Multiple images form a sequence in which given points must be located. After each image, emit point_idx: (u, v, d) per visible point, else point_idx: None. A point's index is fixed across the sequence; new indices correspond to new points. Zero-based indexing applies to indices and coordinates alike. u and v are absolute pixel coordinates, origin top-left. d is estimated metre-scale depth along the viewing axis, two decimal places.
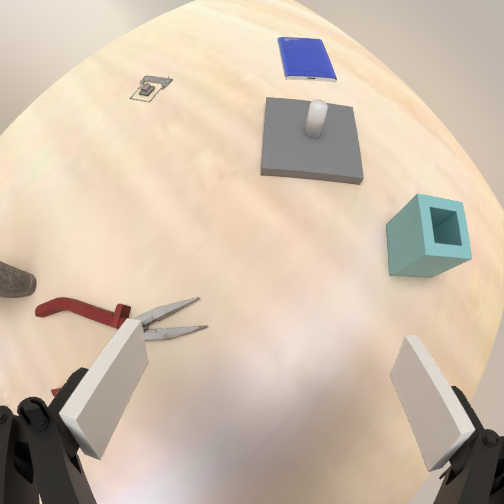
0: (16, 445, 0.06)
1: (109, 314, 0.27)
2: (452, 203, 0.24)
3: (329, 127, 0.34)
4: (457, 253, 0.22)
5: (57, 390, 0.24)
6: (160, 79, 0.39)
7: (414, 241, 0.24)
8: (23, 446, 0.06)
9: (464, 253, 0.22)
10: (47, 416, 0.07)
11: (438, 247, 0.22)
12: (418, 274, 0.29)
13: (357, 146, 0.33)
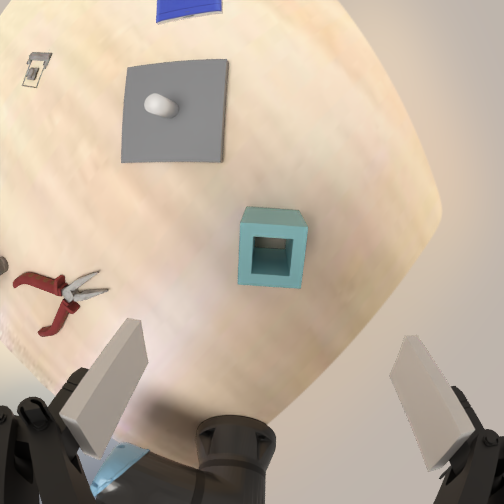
0: (17, 445, 0.06)
1: (52, 286, 0.37)
2: (290, 230, 0.26)
3: (190, 97, 0.28)
4: (280, 283, 0.27)
5: (40, 333, 0.40)
6: (41, 57, 0.26)
7: None
8: (23, 447, 0.06)
9: (291, 283, 0.27)
10: (47, 416, 0.07)
11: (255, 278, 0.27)
12: None
13: (220, 119, 0.29)
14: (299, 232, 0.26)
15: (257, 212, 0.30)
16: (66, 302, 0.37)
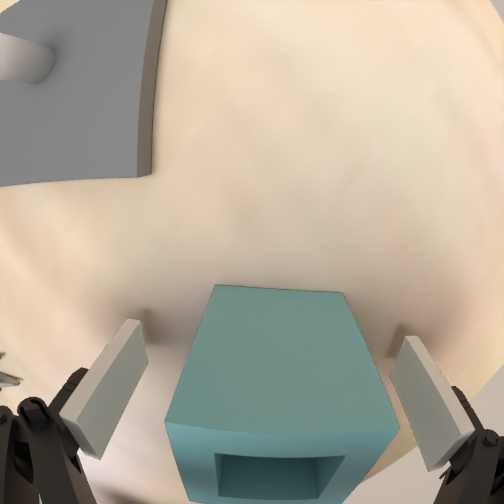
0: (17, 446, 0.06)
1: None
2: (341, 441, 0.06)
3: (80, 30, 0.08)
4: None
5: None
6: None
7: None
8: (22, 446, 0.06)
9: None
10: (47, 416, 0.07)
11: (229, 501, 0.08)
12: None
13: (138, 64, 0.09)
14: (369, 441, 0.06)
15: (237, 322, 0.11)
16: None
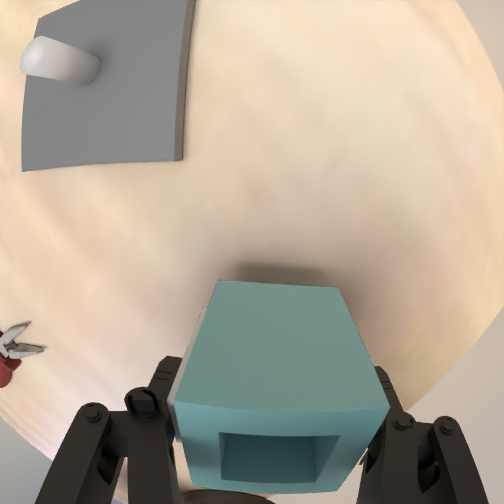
0: (112, 443, 0.07)
1: None
2: (336, 419, 0.07)
3: (122, 43, 0.12)
4: (292, 490, 0.09)
5: None
6: None
7: None
8: (120, 443, 0.07)
9: (318, 488, 0.08)
10: (156, 408, 0.08)
11: (232, 484, 0.08)
12: None
13: (174, 75, 0.13)
14: (362, 421, 0.07)
15: (239, 313, 0.11)
16: (2, 357, 0.22)
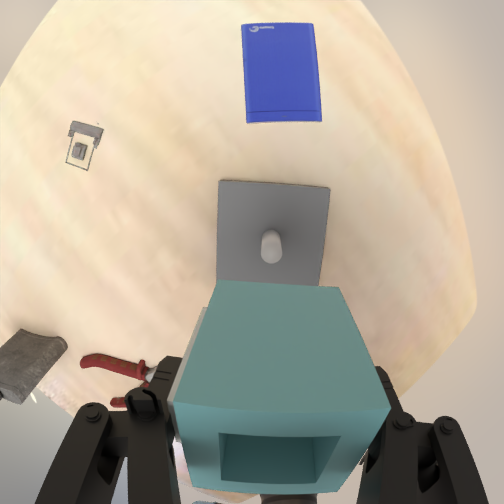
0: (112, 443, 0.07)
1: (133, 371, 0.40)
2: (336, 420, 0.07)
3: (292, 228, 0.32)
4: (292, 491, 0.08)
5: (115, 405, 0.43)
6: (89, 132, 0.30)
7: None
8: (119, 442, 0.07)
9: (318, 489, 0.08)
10: (156, 408, 0.08)
11: (232, 485, 0.08)
12: None
13: (320, 252, 0.33)
14: (362, 421, 0.07)
15: (239, 313, 0.11)
16: None
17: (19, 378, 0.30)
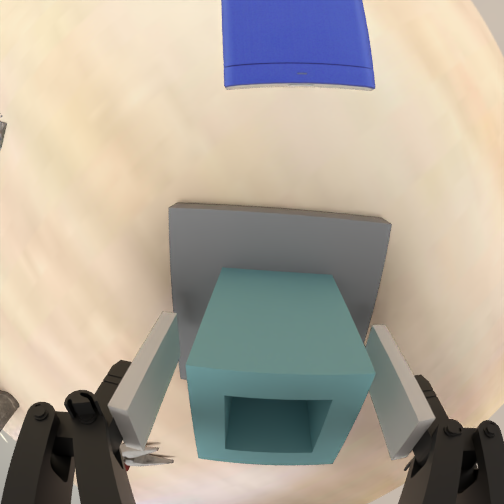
0: (58, 442, 0.07)
1: None
2: (327, 383, 0.08)
3: None
4: (290, 461, 0.10)
5: None
6: None
7: None
8: (65, 443, 0.07)
9: (314, 459, 0.10)
10: (95, 410, 0.08)
11: (234, 454, 0.10)
12: None
13: (362, 336, 0.17)
14: (351, 386, 0.08)
15: (242, 295, 0.13)
16: None
17: None
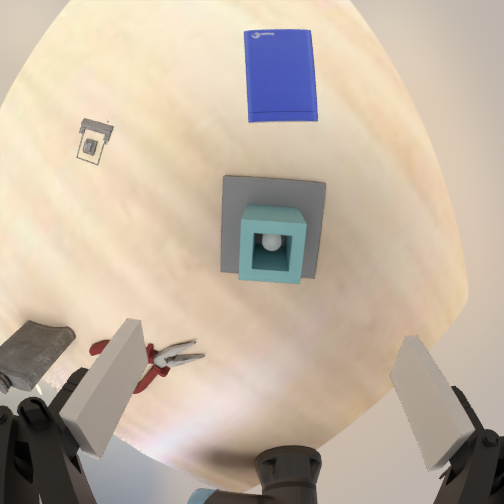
0: (17, 446, 0.06)
1: None
2: (289, 226, 0.27)
3: None
4: (279, 278, 0.28)
5: None
6: (99, 129, 0.33)
7: None
8: (22, 447, 0.06)
9: (290, 278, 0.28)
10: (47, 416, 0.07)
11: (255, 273, 0.28)
12: None
13: (317, 242, 0.35)
14: (298, 229, 0.27)
15: (257, 209, 0.31)
16: (159, 368, 0.43)
17: (28, 366, 0.32)
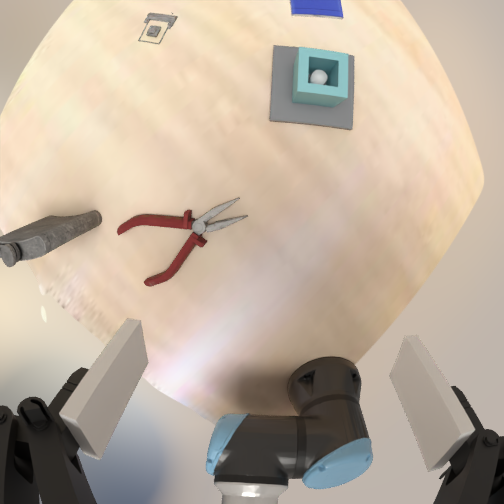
0: (17, 445, 0.06)
1: (179, 220, 0.43)
2: (335, 54, 0.27)
3: None
4: (331, 92, 0.29)
5: (149, 281, 0.47)
6: (165, 18, 0.33)
7: (296, 80, 0.31)
8: (23, 446, 0.06)
9: (340, 92, 0.29)
10: (47, 416, 0.07)
11: (311, 86, 0.29)
12: (317, 104, 0.36)
13: (352, 98, 0.36)
14: (342, 56, 0.27)
15: None
16: (196, 235, 0.44)
17: (48, 230, 0.33)
